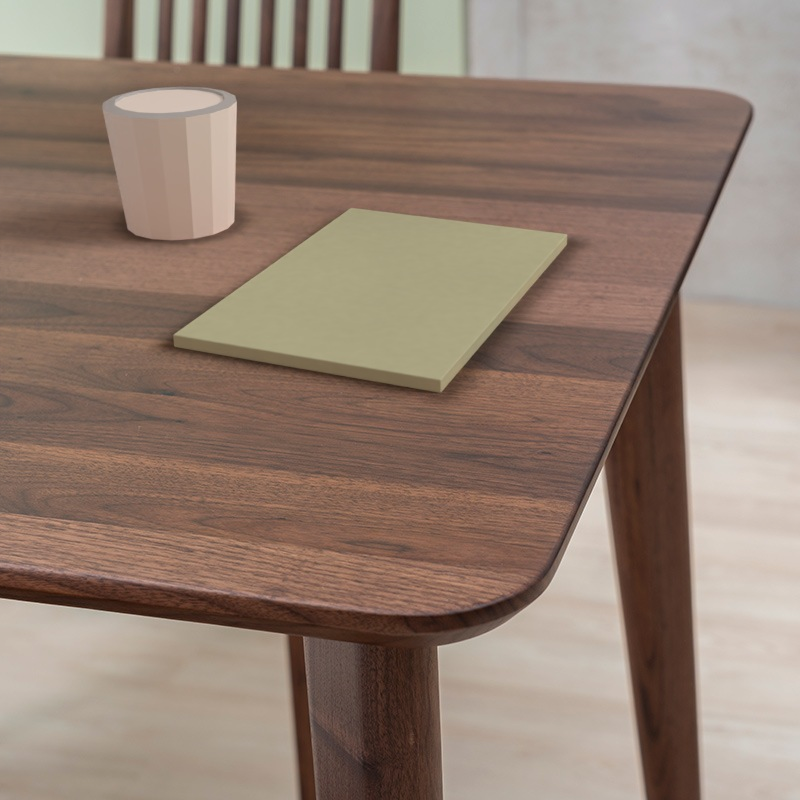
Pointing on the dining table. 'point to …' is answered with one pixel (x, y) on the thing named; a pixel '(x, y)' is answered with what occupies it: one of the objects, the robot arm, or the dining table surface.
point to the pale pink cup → (174, 160)
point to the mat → (379, 298)
